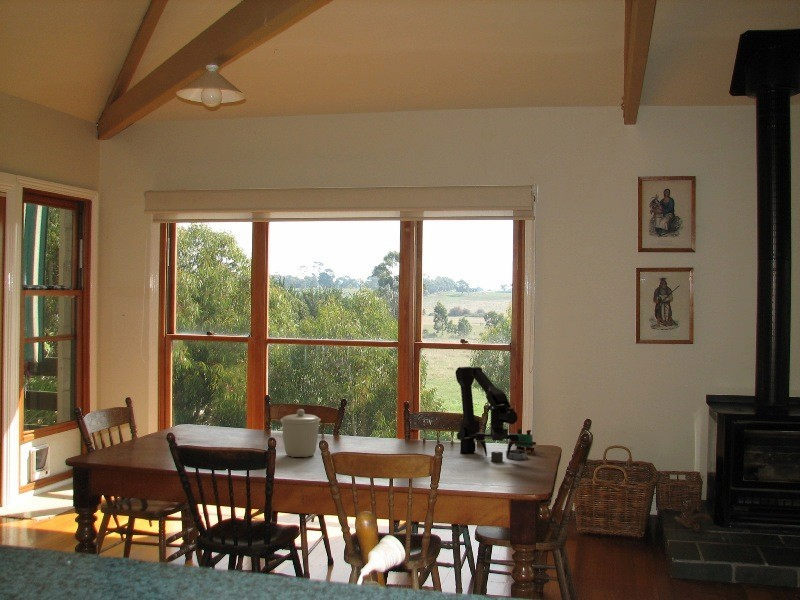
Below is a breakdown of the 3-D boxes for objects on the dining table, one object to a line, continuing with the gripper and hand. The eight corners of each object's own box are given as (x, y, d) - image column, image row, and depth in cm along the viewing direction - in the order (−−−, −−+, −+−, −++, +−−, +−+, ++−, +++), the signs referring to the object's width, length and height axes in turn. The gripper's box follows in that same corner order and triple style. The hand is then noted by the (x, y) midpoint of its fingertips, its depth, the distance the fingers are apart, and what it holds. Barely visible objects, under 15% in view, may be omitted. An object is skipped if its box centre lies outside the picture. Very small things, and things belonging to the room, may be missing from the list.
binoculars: (538, 429, 354) (531, 430, 345) (537, 451, 353) (530, 453, 345) (520, 427, 358) (513, 428, 350) (519, 449, 358) (512, 451, 349)
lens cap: (491, 462, 327) (491, 453, 327) (491, 460, 332) (491, 450, 332) (503, 463, 326) (503, 453, 326) (502, 460, 331) (502, 451, 331)
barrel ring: (506, 459, 333) (506, 453, 333) (505, 455, 342) (505, 449, 342) (527, 459, 332) (527, 454, 332) (525, 455, 341) (525, 450, 341)
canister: (322, 451, 348) (322, 406, 348) (318, 460, 330) (318, 412, 329) (283, 451, 348) (283, 405, 348) (276, 460, 330) (277, 412, 330)
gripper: (475, 423, 322) (475, 459, 322) (519, 424, 320) (519, 461, 320) (475, 419, 333) (475, 454, 333) (518, 420, 331) (517, 455, 331)
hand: (496, 456), depth 329 cm, fingers open, 9 cm apart
